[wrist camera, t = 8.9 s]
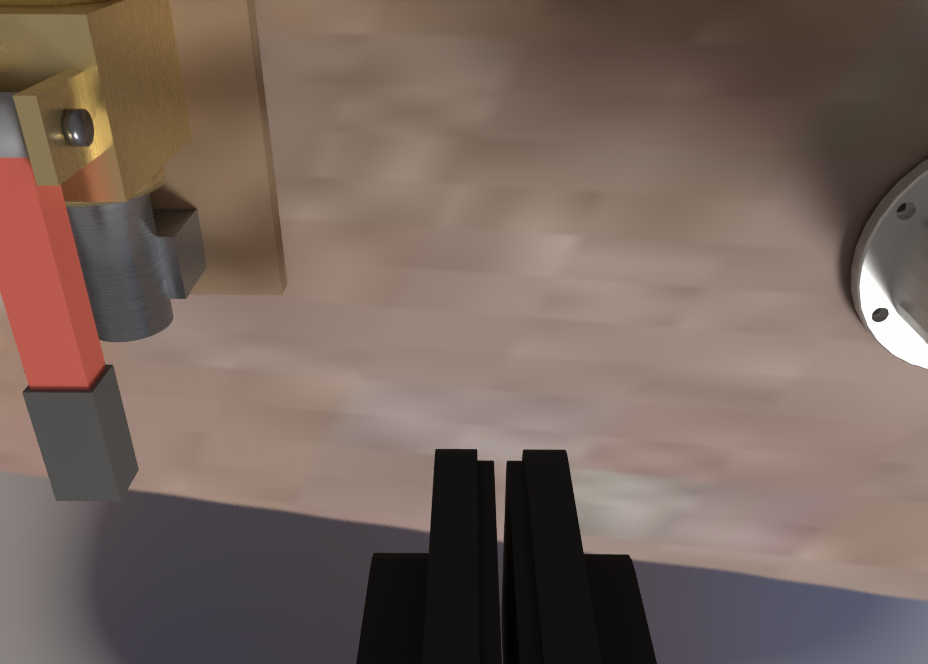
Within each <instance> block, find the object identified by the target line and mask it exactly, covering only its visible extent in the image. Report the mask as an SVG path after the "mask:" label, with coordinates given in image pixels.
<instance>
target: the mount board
mask: <svg viewBox="0 0 928 664" xmlns="http://www.w3.org/2000/svg"><path fill="white" fill-rule="evenodd" d="M169 2H170V8H171V14H172V20H173V26H174V32H175V38H176V44H177V50H178V56H179V62H180V68H181V74H182V80H183V87H184V93H185V99H186V105H187V111H188V117H189V123H190V129H191V135H192V140H191V141H190V142H189V143H188V144H187V145H186V146H185V147H183V148H182V149H181V150H180V151H179V152H178V153H177V154H176V155H175V156H174V157H173V158H172V159H171V160H170V161H169V162H168V163H167V164H166V165H165V166H164V168H165V173H166V181H165V183H164V184H163V185H162V186H161V187H159V188H158V189H156V190H154V191H152V192H150V193H149V196H150V201H151V206H152V208H163V209H197V210H198V215H199V221H200V227H201V233H202V239H203V245H204V251H205V257H206V263H207V268H206V269H205V271H204V272H203V274H202V275H201V277H200V278H199V280H198V281H197V283H196V284H195V286H194V287H193V289H192V290H191V292H190V293H189V294H245V295H282V294H283V292H284V290H285V288H286V285H287V279H286V270H285V262H284V253H283V245H282V237H281V228H280V220H279V211H278V203H277V194H276V186H275V177H274V169H273V160H272V152H271V143H270V135H269V126H268V118H267V109H266V101H265V92H264V84H263V75H262V67H261V58H260V50H259V41H258V33H257V24H256V16H255V7H254V0H169Z"/></svg>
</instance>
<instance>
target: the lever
mask: <svg viewBox="0 0 928 664" xmlns="http://www.w3.org/2000/svg"><path fill="white" fill-rule="evenodd" d="M17 93H19V92H0V292H1V296H2V299H3V302H4V305H5V309H6V312H7V315H8V318H9V322H10V325H11V328H12V331H13V335H14V338H15V341H16V344H17V348H18V351H19V354H20V358H21V361H22V364H23V367H24V371H25V374H26V377H27V380H28V384H29V385H28V387H27V388H26V389H25V390H24V391H23V392H22V393H23V396H24V399H25V402H26V406H27V409H28V412H29V415H30V418H31V422H32V425H33V428H34V431H35V434H36V438H37V441H38V444H39V447H40V450H41V454H42V457H43V460H44V463H45V466H46V470H47V473H48V476H49V479H50V482H51V485H52V489H53V492H54V495H55V498H56V501H121V500H122V498H123V496H124V495H125V493H126V491H127V489H128V488H129V486H130V484H131V482H132V481H133V479H134V477H135V475H136V473H137V472H138V470H139V469H138V465H137V461H136V457H135V453H134V449H133V445H132V441H131V436H130V432H129V428H128V424H127V420H126V416H125V412H124V408H123V404H122V399H121V395H120V391H119V387H118V383H117V379H116V375H115V371H114V367H113V365H105V362H104V357H103V353H102V349H101V345H100V341H99V337H98V333H97V329H96V325H95V321H94V317H93V313H92V309H91V305H90V301H89V297H88V293H87V289H86V285H85V281H84V277H83V273H82V269H81V265H80V261H79V257H78V253H77V249H76V245H75V241H74V237H73V233H72V229H71V225H70V221H69V217H68V213H67V209H66V205H65V201H64V197H63V193H62V189H61V185H59V186H37V184H36V181H35V177H34V173H33V169H32V166H31V162H30V158H29V155H28V151H27V147H26V143H25V140H24V136H23V132H22V128H21V125H20V121H19V117H18V114H17V110H16V106H15V102H14V99H13V95H15V94H17Z"/></svg>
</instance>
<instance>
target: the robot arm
mask: <svg viewBox="0 0 928 664" xmlns="http://www.w3.org/2000/svg"><path fill="white" fill-rule="evenodd" d="M900 205H901V206H900ZM899 206H900V207H899ZM898 207H899V208H898ZM851 293H852V298H853V302H854V306H855V310H856V312H857V314H858V316H859V318H860V320H861V322H862V324H863V326H864V327H865V328H866V329H867V330H868V332H869V333H870V334H871V335H872V337H873V338H874V339H875V340H876V342H878V343H879V344H880V345H881V346H882V347H883V348H884V349H886V350H887V351H888V352H889V353H890V354H892V355H893V356H895V357H897V358H899V359H901V360H903V361H905V362H907V363H908V364H912V365H915V366H919V367H922V368H926V369H928V159H926V160H925V161H923V162H921V163H920V164H919V165H918V166H916V167H915V168H914V169H913V170H912V171H910V172H909V173H908V174H907V175H906V176H904V177H903V178H902V179H901V180H900V181H898V183H897V184H896V185H895V186H894V187H893V188H892V189H891V190H890V191H889V193H888V194H887V195H886V196H885V197H884V198H883V199H882V200H881V201H880V203H879V204H878V206H877V207H876V209H875V210H874V212H873V214H872V215H871V217H870V218H869V220H868V221H867V223H866V224H865V227H864V229H863V231H862V234H861V236H860V238H859V241H858V243H857V245H856V248H855V253H854V257H853V262H852V266H851ZM502 651H503V664H657V662H656V658H655V654H654V649H653V645H652V641H651V637H650V632H649V628H648V624H647V620H646V615H645V611H644V607H643V603H642V599H641V594H640V590H639V586H638V582H637V577H636V573H635V569H634V566H633V562H632V559H631V558H630V556H629V555H615V554H584V553H583V547H582V541H581V535H580V529H579V523H578V517H577V511H576V505H575V499H574V493H573V487H572V481H571V475H570V469H569V462H568V457H567V452H566V450H523V455H522V461H507V466H506V493H505V523H504V552H503V581H502ZM356 664H502V656H501V630H500V607H499V579H498V553H497V528H496V502H495V477H494V461H477V449H436V450H435V463H434V479H433V495H432V511H431V527H430V543H429V553H374V554H373V557H372V561H371V567H370V574H369V580H368V587H367V594H366V601H365V608H364V615H363V621H362V628H361V635H360V643H359V649H358V656H357V663H356Z"/></svg>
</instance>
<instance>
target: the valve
mask: <svg viewBox="0 0 928 664" xmlns="http://www.w3.org/2000/svg"><path fill="white" fill-rule="evenodd" d="M0 92H19V93H17V94H15V95H13V99H14V102H15V106H16V110H17V114H18V117H19V121H20V125H21V128H22V132H23V136H24V140H25V143H26V147H27V151H28V155H29V158H30V162H31V166H32V169H33V173H34V177H35V181H36V184H37V186H59V185H61V189H62V193H63V197H64V201H65V205H66V209H67V213H68V217H69V221H70V225H71V229H72V233H73V237H74V241H75V245H76V249H77V253H78V257H79V261H80V265H81V269H82V273H83V277H84V281H85V285H86V289H87V293H88V297H89V301H90V305H91V309H92V313H93V317H94V321H95V325H96V329H97V333H98V337H99V340H102V341H108V342H128V341H134V340H139V339H143V338H146V337H149V336H152V335H154V334H157V333H159V332H160V331H162V330H164V329H165V328H166V327H168V326H169V325H170V323H171V322H172V320H173V311H172V306H171V301H170V299H186V298H187V296H188V295H189V293H190V292H191V290H192V289H193V287H194V286H195V284H196V283H197V281H198V280H199V278H200V277H201V275H202V274H203V272H204V271H205V269H206V268H207V263H206V257H205V251H204V245H203V239H202V233H201V227H200V221H199V215H198V210H197V209H163V208H152V206H151V201H150V196H149V193H150V192H152V191H154V190H156V189H158V188H159V187H161V186H162V185H163V184H164V183H165V181H166V173H165V168H164V166H165V165H166V164H167V163H168V162H169V161H170V160H171V159H172V158H173V157H174V156H175V155H176V154H177V153H178V152H179V151H180V150H181V149H182V148H183V147H185V146H186V145H187V144H188V143H189V142H190V141H191V140H192V135H191V129H190V123H189V117H188V111H187V105H186V99H185V93H184V87H183V80H182V74H181V68H180V62H179V56H178V50H177V44H176V38H175V32H174V26H173V20H172V14H171V8H170V2H169V0H0Z"/></svg>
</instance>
